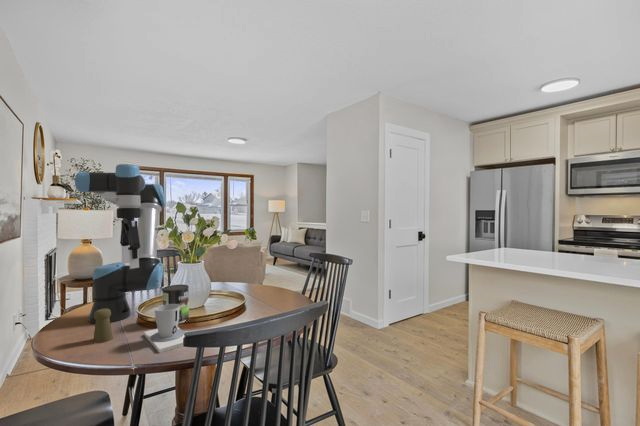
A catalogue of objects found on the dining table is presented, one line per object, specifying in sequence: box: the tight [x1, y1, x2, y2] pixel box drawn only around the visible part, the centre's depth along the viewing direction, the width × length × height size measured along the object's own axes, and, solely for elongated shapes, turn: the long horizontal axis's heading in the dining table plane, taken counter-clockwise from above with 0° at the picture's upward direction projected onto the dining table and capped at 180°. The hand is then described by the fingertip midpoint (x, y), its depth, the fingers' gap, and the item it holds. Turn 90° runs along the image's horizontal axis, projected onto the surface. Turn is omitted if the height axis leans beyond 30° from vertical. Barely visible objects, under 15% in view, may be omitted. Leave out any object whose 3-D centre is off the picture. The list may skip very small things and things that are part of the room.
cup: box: [154, 304, 180, 338], centre depth 116 cm, size 8×8×10 cm
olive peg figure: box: [92, 309, 114, 344], centre depth 116 cm, size 6×6×11 cm
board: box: [143, 326, 186, 353], centre depth 116 cm, size 20×11×2 cm, turn 42°
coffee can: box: [161, 284, 190, 325], centre depth 135 cm, size 10×10×14 cm
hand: (130, 265), depth 116 cm, fingers open, 13 cm apart
